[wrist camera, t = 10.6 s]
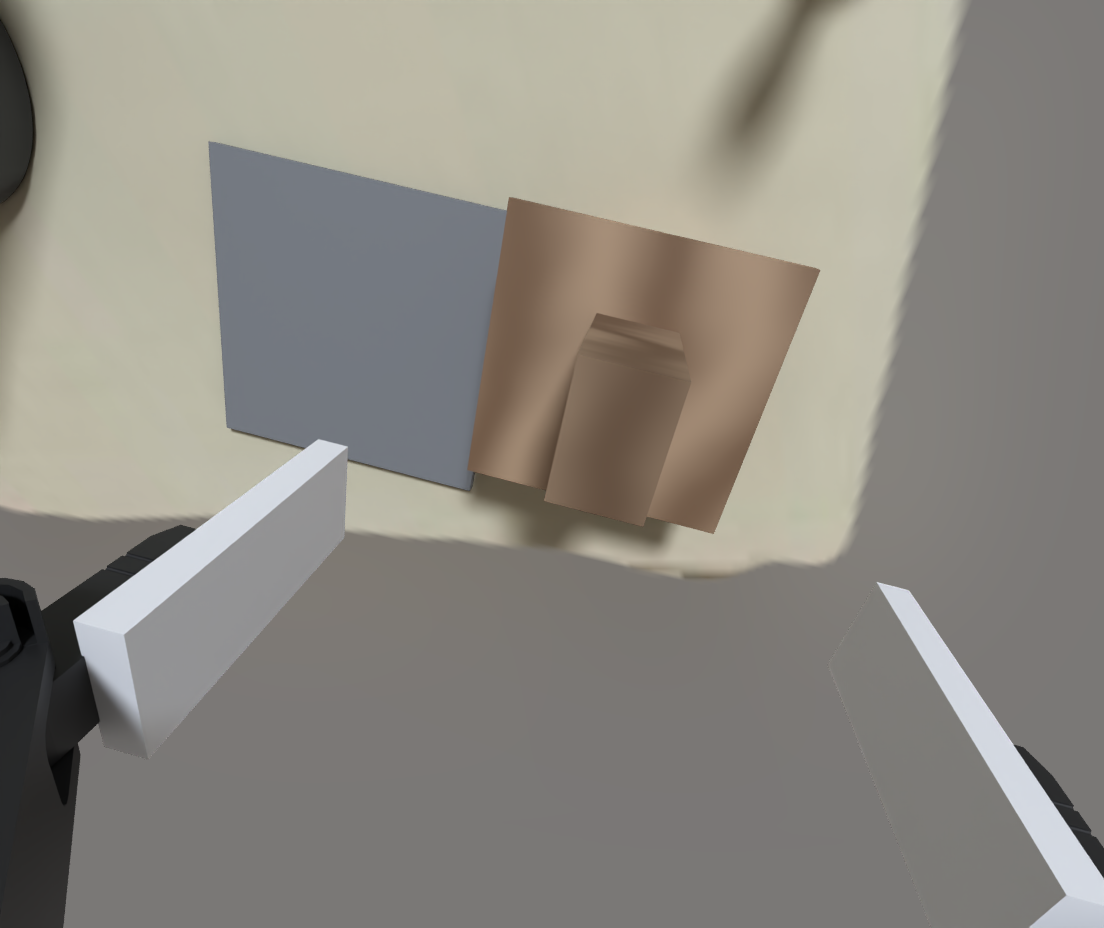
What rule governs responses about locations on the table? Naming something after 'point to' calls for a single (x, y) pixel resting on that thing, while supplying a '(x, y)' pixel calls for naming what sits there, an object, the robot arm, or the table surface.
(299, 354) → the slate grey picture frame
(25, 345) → the table surface
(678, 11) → the table surface
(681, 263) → the walnut lid
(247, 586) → the robot arm
